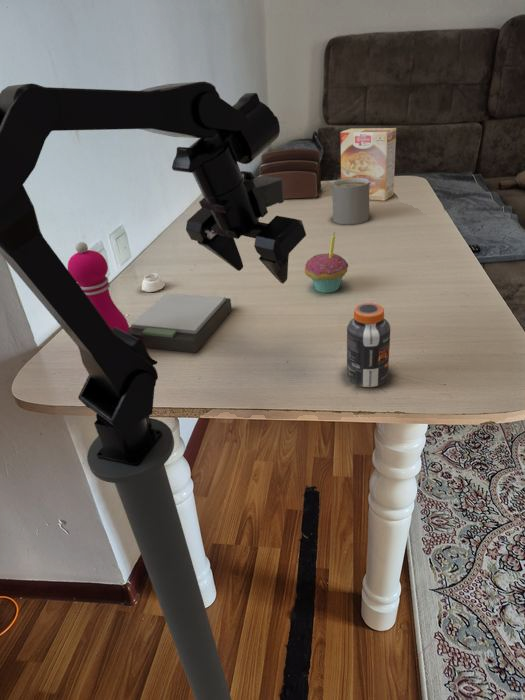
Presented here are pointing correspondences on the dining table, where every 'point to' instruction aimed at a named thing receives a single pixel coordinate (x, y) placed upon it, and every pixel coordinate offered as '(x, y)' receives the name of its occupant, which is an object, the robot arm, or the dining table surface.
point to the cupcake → (326, 270)
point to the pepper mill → (96, 284)
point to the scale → (180, 321)
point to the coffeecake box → (370, 158)
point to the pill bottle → (368, 346)
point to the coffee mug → (350, 200)
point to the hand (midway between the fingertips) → (261, 275)
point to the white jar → (152, 283)
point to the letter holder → (294, 171)
